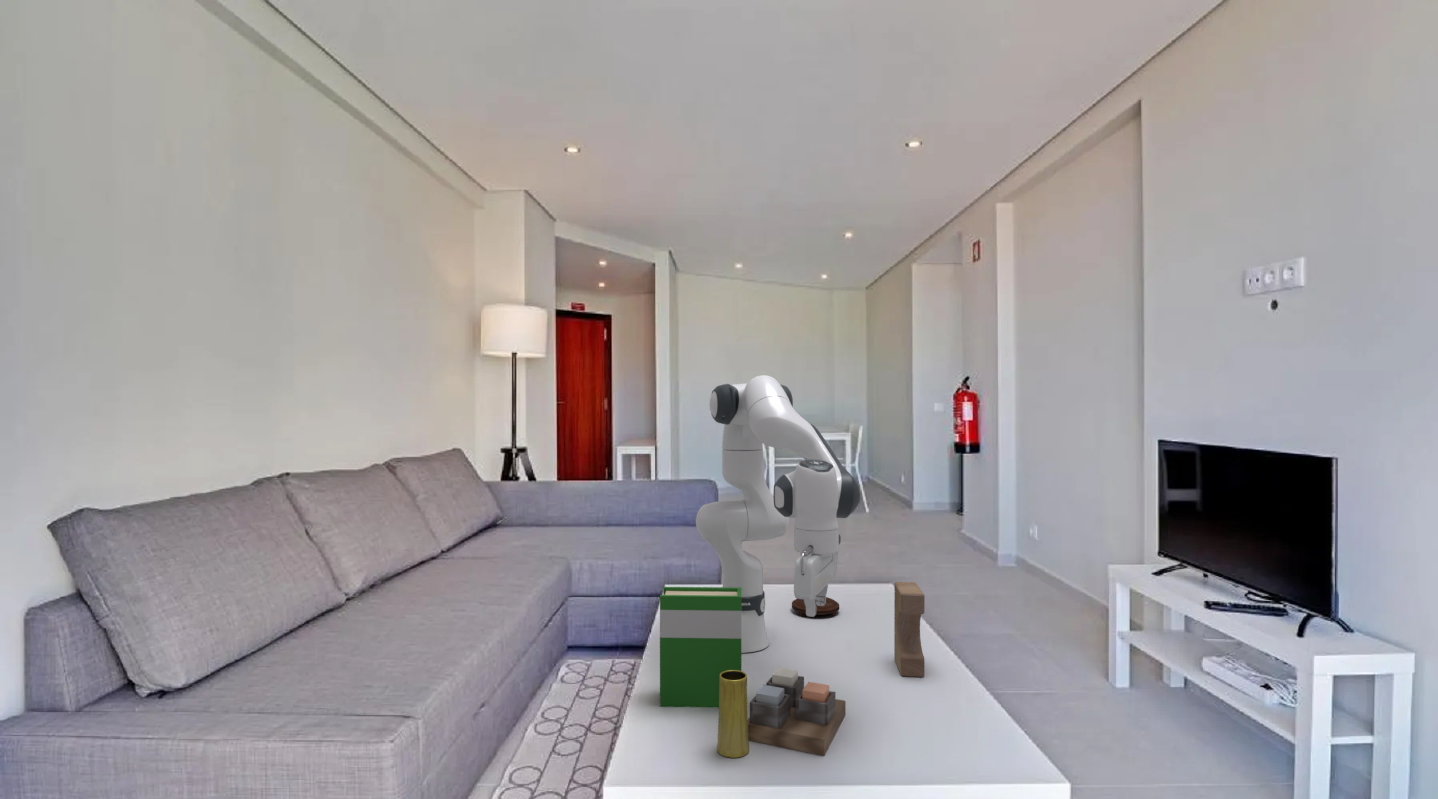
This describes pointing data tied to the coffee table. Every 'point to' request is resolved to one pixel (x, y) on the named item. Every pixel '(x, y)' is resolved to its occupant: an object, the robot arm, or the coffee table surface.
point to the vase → (733, 714)
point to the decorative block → (908, 629)
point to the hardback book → (697, 643)
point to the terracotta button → (816, 692)
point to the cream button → (785, 676)
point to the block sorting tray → (796, 720)
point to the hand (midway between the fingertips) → (816, 610)
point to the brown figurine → (828, 608)
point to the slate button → (770, 695)
